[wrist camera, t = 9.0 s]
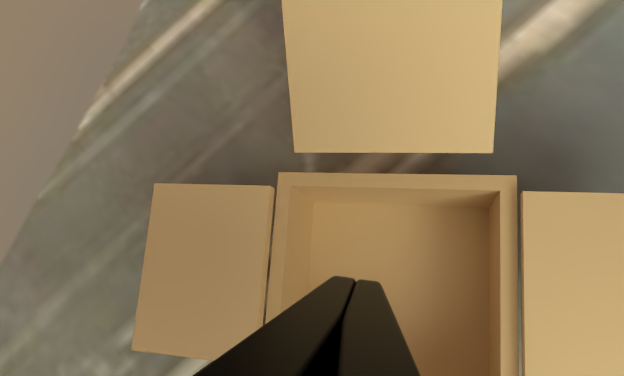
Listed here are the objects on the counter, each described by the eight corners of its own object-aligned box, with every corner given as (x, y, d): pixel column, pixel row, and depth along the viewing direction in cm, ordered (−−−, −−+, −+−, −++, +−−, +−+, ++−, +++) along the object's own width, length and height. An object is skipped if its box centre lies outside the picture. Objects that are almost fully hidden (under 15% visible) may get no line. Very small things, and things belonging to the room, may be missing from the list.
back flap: (492, 153, 15) (512, -153, 12) (294, 152, 16) (271, -117, 14) (490, 147, 15) (508, -146, 13) (300, 146, 17) (278, -112, 14)
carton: (650, 452, 16) (724, 508, 12) (186, 386, 21) (123, 411, 16) (635, 201, 18) (697, 174, 14) (209, 191, 22) (156, 167, 18)
